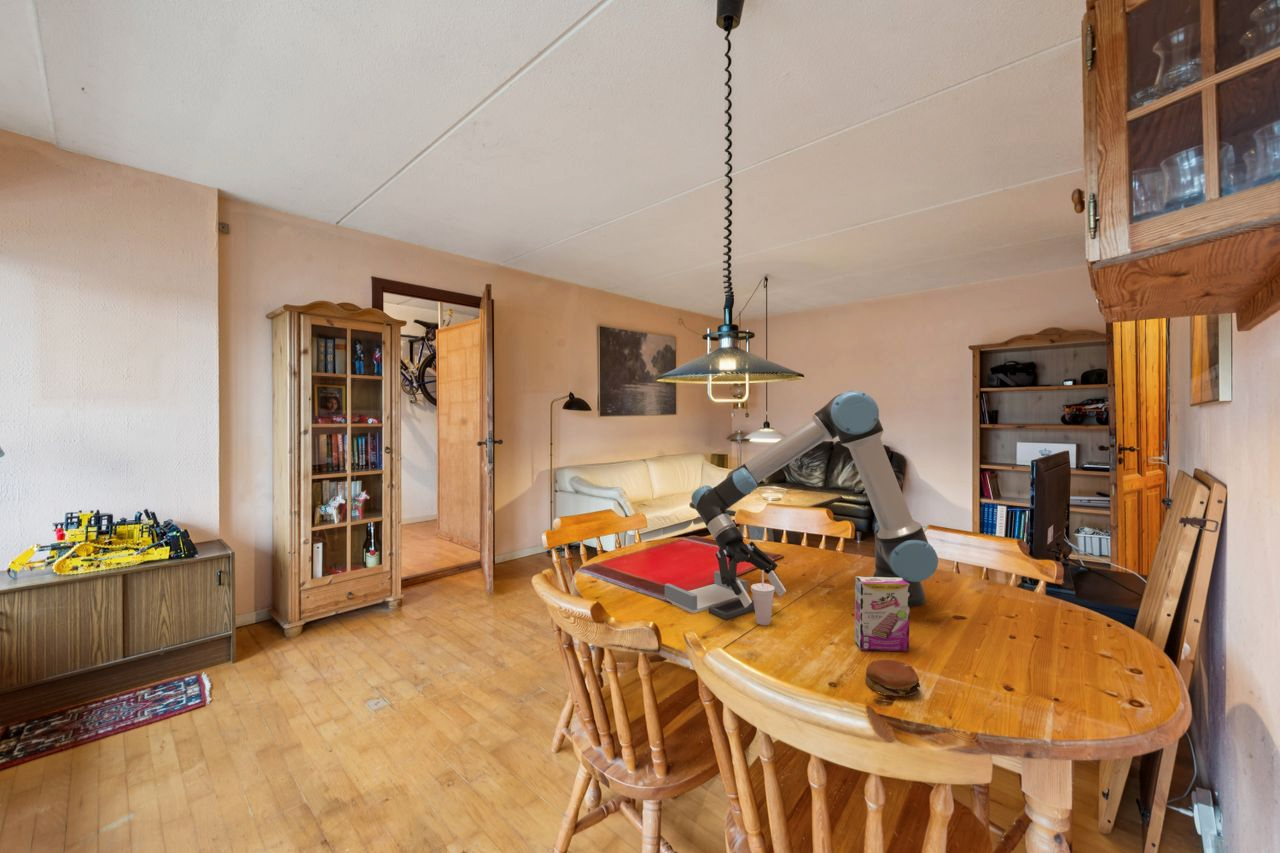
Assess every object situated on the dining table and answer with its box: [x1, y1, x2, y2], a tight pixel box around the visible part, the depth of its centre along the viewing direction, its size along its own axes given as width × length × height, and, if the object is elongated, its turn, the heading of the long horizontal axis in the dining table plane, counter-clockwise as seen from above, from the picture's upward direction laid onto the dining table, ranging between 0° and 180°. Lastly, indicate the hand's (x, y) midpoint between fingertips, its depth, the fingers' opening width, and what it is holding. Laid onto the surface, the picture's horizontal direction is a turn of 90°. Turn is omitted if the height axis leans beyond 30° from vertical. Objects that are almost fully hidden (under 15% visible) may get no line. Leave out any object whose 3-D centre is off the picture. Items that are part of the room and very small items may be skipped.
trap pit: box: [708, 598, 755, 621], centre depth 145 cm, size 7×14×2 cm, turn 125°
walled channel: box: [664, 570, 748, 615], centre depth 155 cm, size 13×22×5 cm, turn 125°
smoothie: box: [750, 570, 776, 626], centre depth 136 cm, size 6×6×14 cm
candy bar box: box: [854, 575, 910, 653], centre depth 121 cm, size 11×5×16 cm, turn 84°
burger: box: [865, 659, 921, 697], centre depth 103 cm, size 10×9×5 cm
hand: (766, 599), depth 135 cm, fingers open, 13 cm apart
